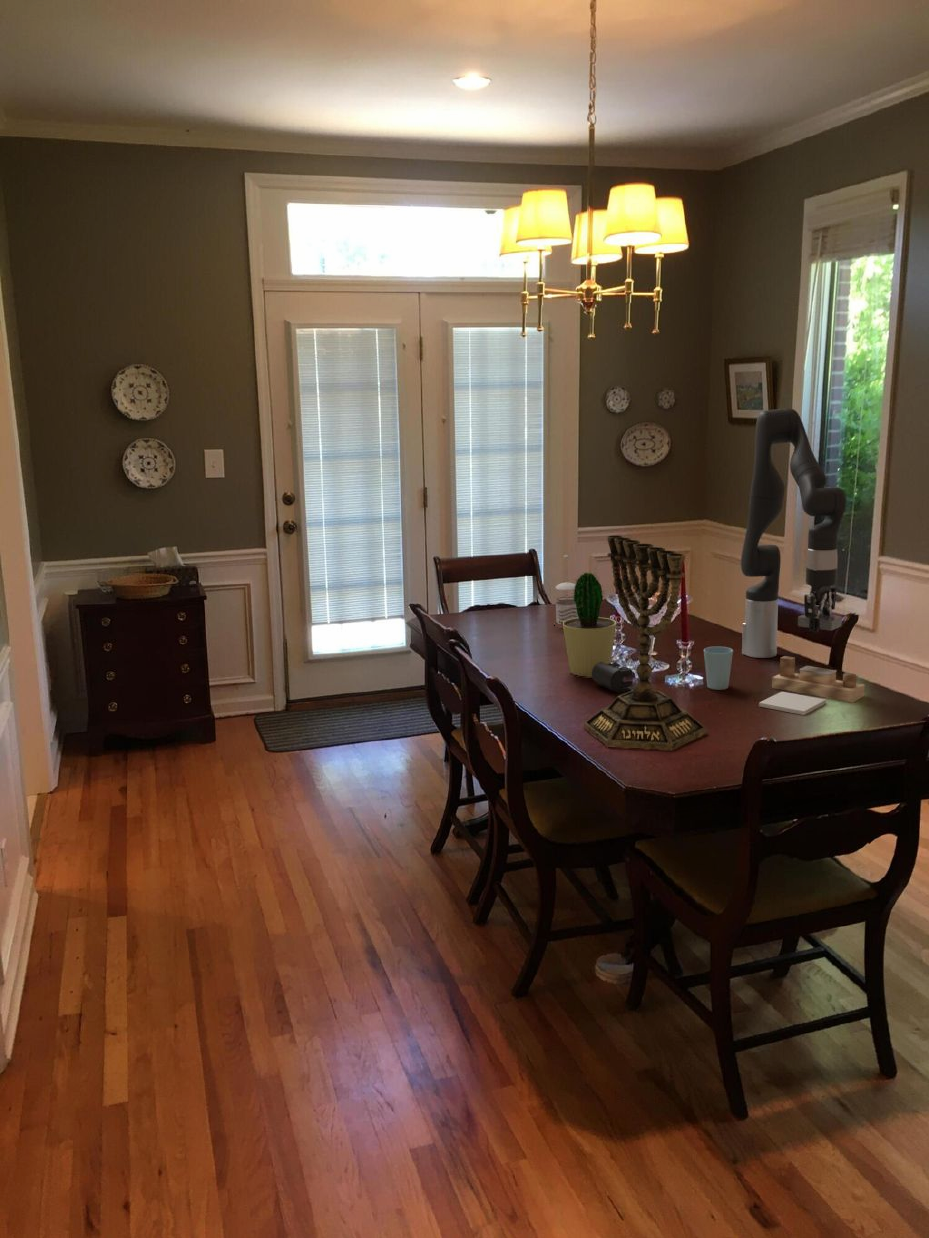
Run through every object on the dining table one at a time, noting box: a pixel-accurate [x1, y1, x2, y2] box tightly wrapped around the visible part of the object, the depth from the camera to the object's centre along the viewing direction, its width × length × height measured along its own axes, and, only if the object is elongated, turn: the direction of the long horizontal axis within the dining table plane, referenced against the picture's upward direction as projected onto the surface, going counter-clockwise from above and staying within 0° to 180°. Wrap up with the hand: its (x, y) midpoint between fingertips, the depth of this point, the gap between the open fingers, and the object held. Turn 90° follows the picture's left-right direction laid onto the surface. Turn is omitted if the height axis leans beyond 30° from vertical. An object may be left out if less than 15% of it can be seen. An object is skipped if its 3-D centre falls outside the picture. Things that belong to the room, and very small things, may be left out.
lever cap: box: [797, 612, 843, 632], centre depth 260 cm, size 9×6×3 cm, turn 46°
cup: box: [703, 646, 734, 691], centre depth 271 cm, size 8×8×10 cm
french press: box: [554, 554, 579, 624], centre depth 349 cm, size 10×12×25 cm
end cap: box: [591, 662, 633, 694], centre depth 274 cm, size 10×7×7 cm
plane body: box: [771, 655, 866, 703], centre depth 264 cm, size 22×7×8 cm, turn 46°
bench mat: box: [758, 691, 827, 716], centre depth 255 cm, size 12×12×1 cm
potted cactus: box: [563, 572, 617, 678], centre depth 289 cm, size 15×15×30 cm
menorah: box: [583, 534, 708, 751], centre depth 235 cm, size 36×25×45 cm
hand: (819, 629), depth 261 cm, fingers closed on lever cap, 6 cm apart
